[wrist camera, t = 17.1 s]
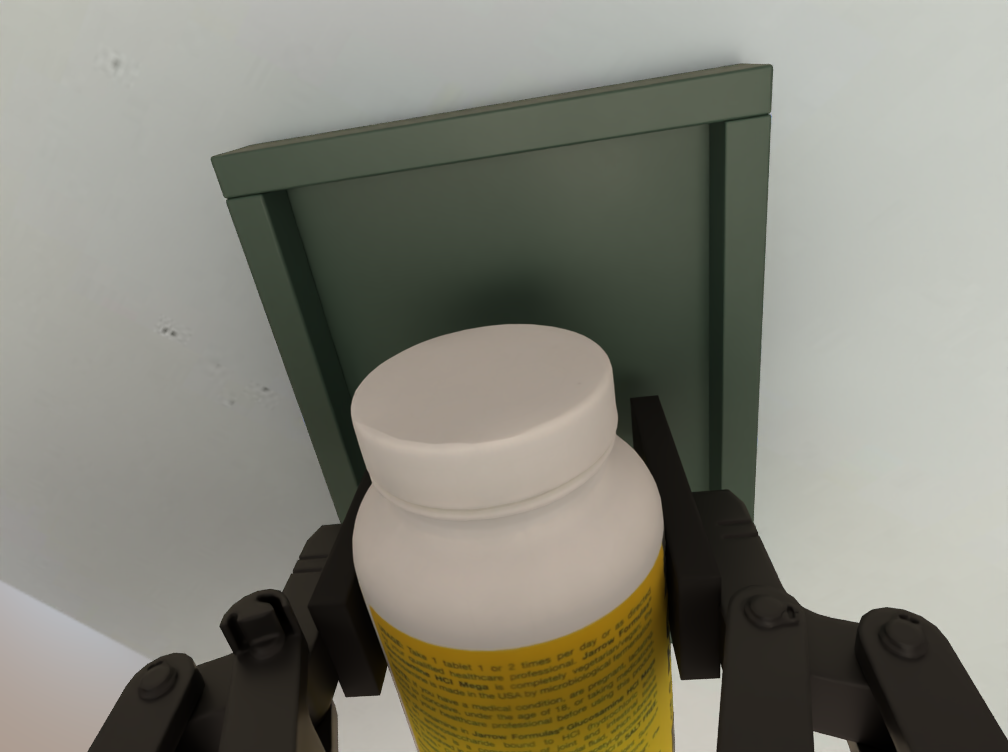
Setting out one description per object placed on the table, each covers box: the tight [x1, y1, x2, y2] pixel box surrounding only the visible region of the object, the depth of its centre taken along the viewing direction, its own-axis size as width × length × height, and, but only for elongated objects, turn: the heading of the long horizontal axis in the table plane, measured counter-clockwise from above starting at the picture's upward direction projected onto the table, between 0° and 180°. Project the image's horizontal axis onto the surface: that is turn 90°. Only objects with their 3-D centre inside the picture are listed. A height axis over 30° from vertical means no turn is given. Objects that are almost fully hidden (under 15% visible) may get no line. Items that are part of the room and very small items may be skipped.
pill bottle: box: [351, 324, 675, 752], centre depth 13 cm, size 6×6×11 cm
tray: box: [211, 64, 773, 643], centre depth 19 cm, size 18×13×2 cm
